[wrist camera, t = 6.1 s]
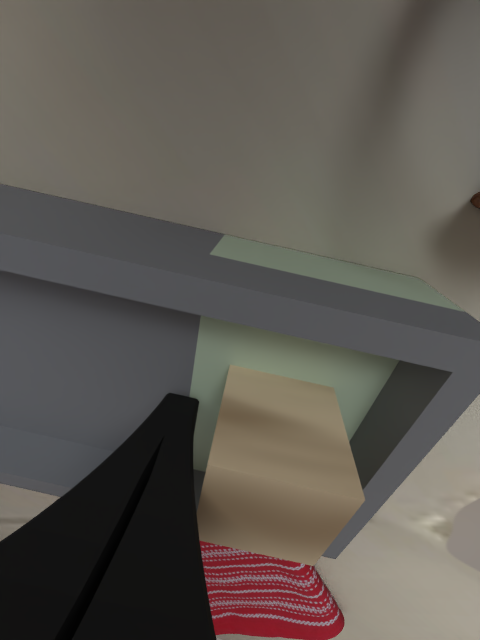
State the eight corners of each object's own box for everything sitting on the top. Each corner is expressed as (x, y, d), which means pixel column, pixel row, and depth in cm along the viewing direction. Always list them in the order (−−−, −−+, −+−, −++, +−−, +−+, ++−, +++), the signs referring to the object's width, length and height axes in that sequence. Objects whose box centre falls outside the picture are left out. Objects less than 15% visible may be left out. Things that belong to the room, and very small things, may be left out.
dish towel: (204, 608, 33) (199, 640, 31) (81, 501, 24) (60, 537, 22) (346, 606, 28) (352, 645, 26) (261, 471, 19) (259, 513, 17)
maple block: (301, 452, 12) (313, 566, 9) (214, 433, 12) (190, 538, 9) (333, 387, 10) (365, 500, 7) (229, 364, 10) (207, 464, 7)
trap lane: (319, 458, 17) (335, 559, 12) (-60, 372, 17) (-177, 443, 12) (419, 278, 11) (517, 350, 6) (-164, 146, 11) (-458, 130, 6)
